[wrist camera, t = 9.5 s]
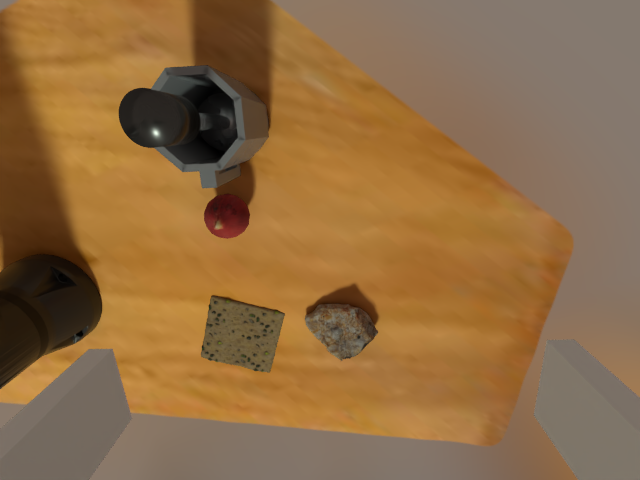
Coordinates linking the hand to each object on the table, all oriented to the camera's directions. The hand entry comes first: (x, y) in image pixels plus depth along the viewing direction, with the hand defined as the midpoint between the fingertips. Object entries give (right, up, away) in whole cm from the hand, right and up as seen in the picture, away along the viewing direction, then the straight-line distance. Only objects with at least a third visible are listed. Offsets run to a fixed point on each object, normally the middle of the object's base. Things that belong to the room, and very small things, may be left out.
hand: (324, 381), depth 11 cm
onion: (-12, +9, +39) cm, 42 cm away
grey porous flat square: (-13, -11, +46) cm, 49 cm away
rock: (+3, -9, +44) cm, 45 cm away
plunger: (-12, +19, +32) cm, 39 cm away
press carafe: (-12, +20, +35) cm, 42 cm away
